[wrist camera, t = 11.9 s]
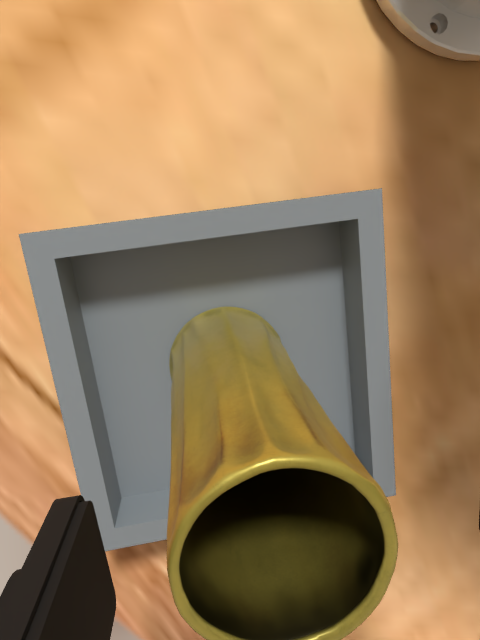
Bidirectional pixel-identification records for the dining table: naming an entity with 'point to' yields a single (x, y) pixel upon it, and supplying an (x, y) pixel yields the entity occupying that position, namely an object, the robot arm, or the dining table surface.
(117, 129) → the dining table surface
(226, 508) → the vase
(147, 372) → the tray
